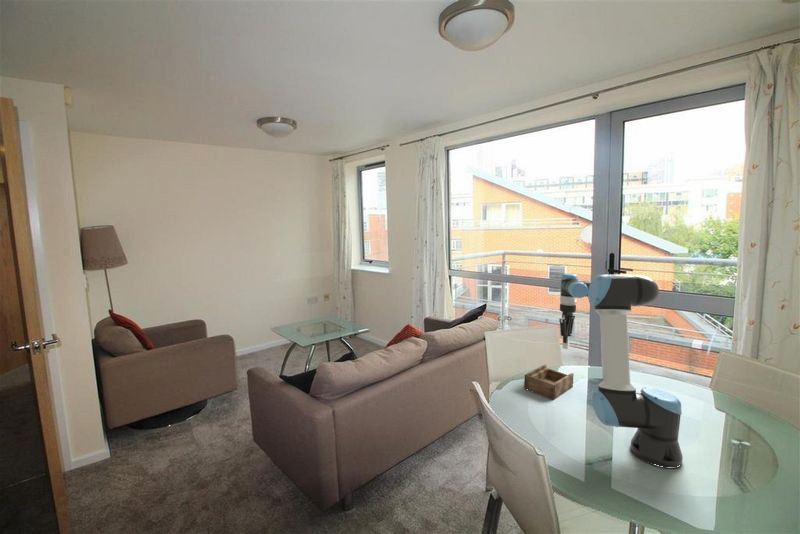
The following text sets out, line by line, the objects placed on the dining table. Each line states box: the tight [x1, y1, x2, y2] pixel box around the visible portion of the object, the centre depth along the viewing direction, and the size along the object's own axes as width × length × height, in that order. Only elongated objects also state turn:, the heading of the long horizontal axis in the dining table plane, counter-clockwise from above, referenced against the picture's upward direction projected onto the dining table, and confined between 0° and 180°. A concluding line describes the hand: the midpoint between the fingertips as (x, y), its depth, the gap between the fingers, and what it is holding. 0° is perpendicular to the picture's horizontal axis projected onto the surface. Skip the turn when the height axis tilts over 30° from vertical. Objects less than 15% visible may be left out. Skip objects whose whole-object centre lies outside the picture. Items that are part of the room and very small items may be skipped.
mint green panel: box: [560, 368, 584, 385], centre depth 192 cm, size 17×12×4 cm
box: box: [523, 363, 575, 401], centre depth 179 cm, size 20×15×7 cm
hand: (565, 348), depth 187 cm, fingers closed
